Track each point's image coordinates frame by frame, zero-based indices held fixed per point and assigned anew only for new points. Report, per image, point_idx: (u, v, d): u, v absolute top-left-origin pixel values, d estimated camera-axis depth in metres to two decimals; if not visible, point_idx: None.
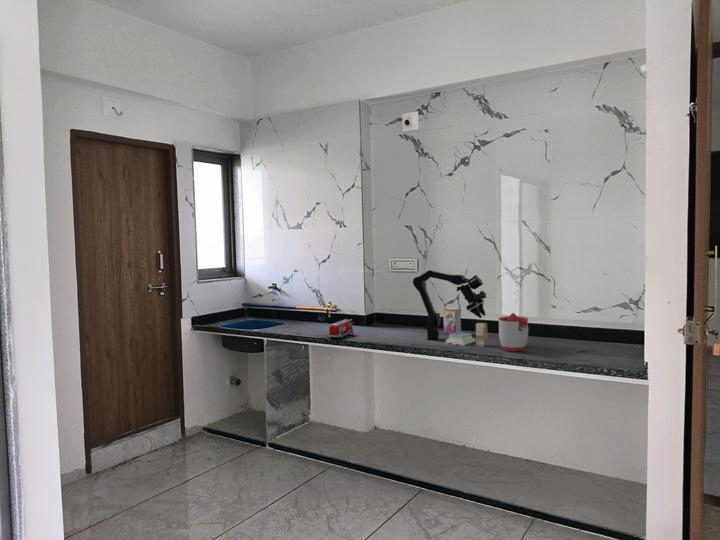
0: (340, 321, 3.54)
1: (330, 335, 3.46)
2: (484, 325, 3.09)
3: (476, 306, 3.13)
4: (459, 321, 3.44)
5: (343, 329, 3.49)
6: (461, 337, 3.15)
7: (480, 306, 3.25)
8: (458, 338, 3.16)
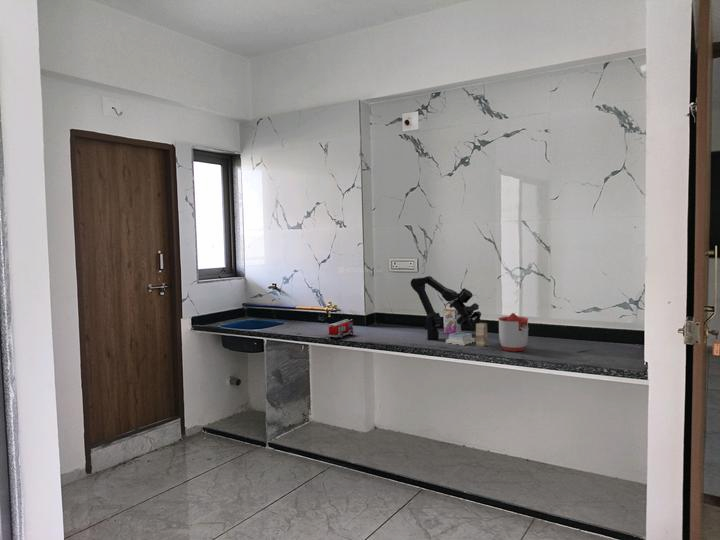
0: (340, 321, 3.54)
1: (329, 335, 3.46)
2: (484, 325, 3.09)
3: (465, 319, 3.08)
4: None
5: (343, 329, 3.49)
6: (461, 337, 3.15)
7: (477, 319, 3.18)
8: (458, 338, 3.16)
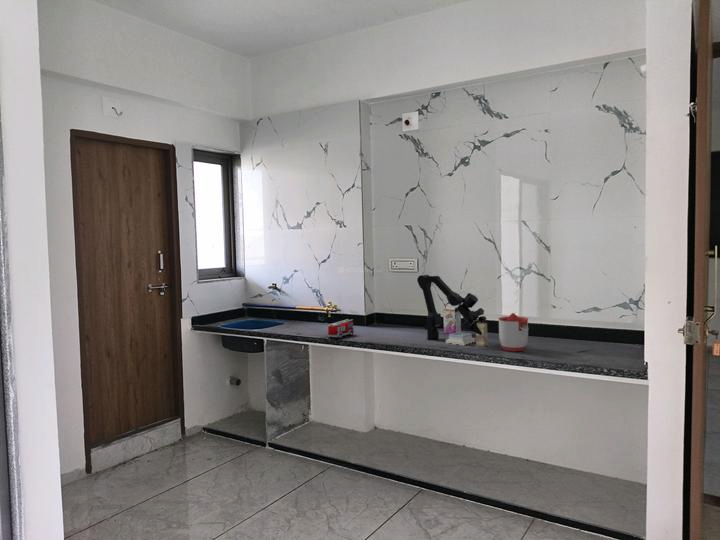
0: (340, 321, 3.54)
1: (329, 335, 3.47)
2: (484, 325, 3.09)
3: (473, 323, 3.08)
4: (459, 321, 3.44)
5: (342, 329, 3.49)
6: (461, 337, 3.15)
7: None
8: (458, 338, 3.16)
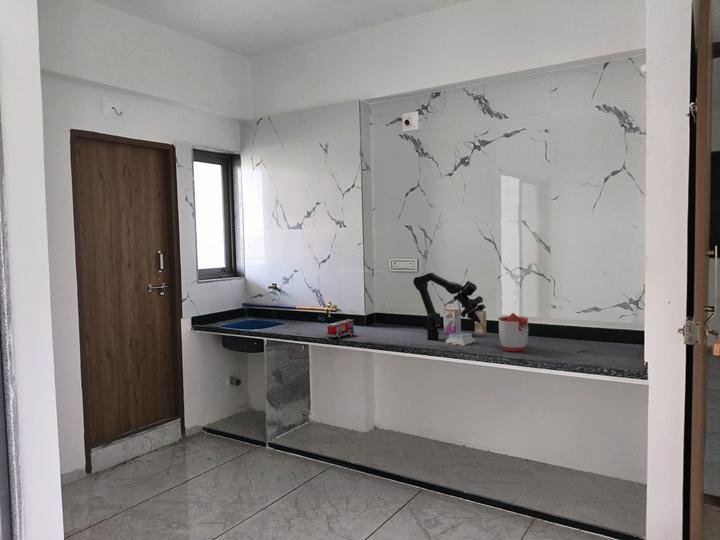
0: (340, 321, 3.54)
1: (328, 335, 3.48)
2: (483, 313, 3.09)
3: (472, 311, 3.08)
4: (459, 321, 3.44)
5: (341, 329, 3.49)
6: (461, 337, 3.15)
7: None
8: (458, 338, 3.16)
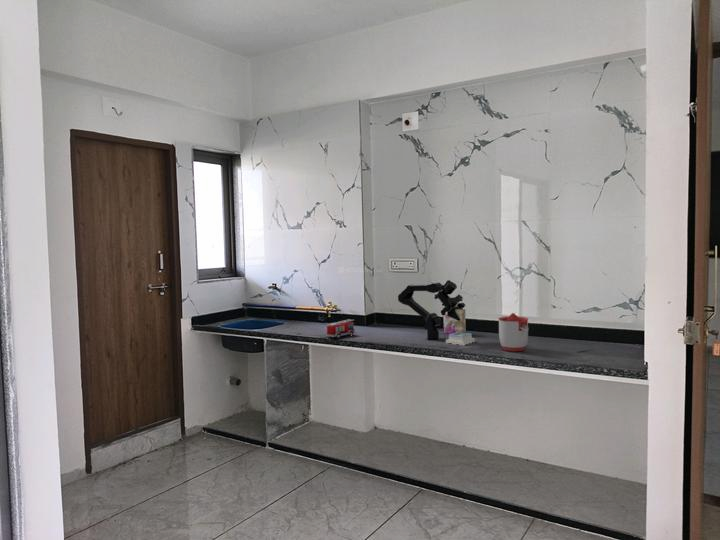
0: (341, 321, 3.54)
1: (327, 334, 3.48)
2: (462, 311, 3.18)
3: (451, 309, 3.17)
4: None
5: (341, 329, 3.49)
6: (461, 337, 3.15)
7: None
8: (458, 338, 3.16)
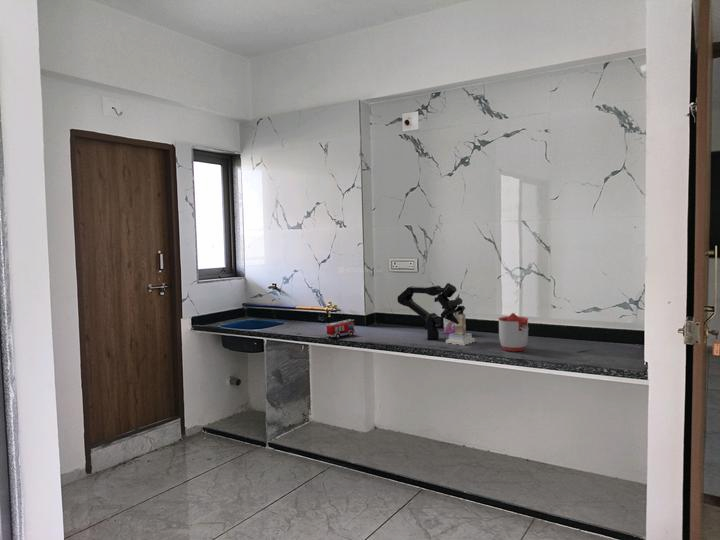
0: (341, 321, 3.54)
1: (327, 334, 3.49)
2: (462, 316, 3.18)
3: (450, 313, 3.16)
4: None
5: (341, 329, 3.49)
6: (461, 337, 3.15)
7: (460, 313, 3.25)
8: (458, 338, 3.16)
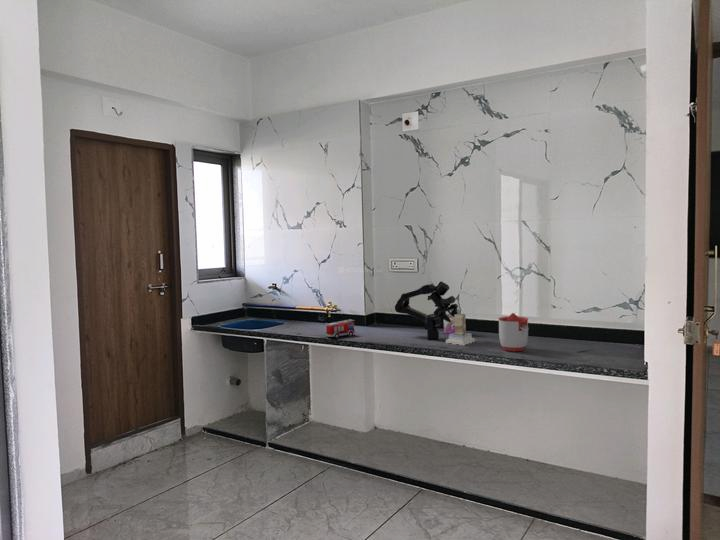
0: (341, 321, 3.54)
1: (326, 334, 3.50)
2: (462, 316, 3.18)
3: (442, 311, 3.19)
4: None
5: (340, 329, 3.49)
6: (461, 337, 3.15)
7: (453, 311, 3.29)
8: (458, 338, 3.16)
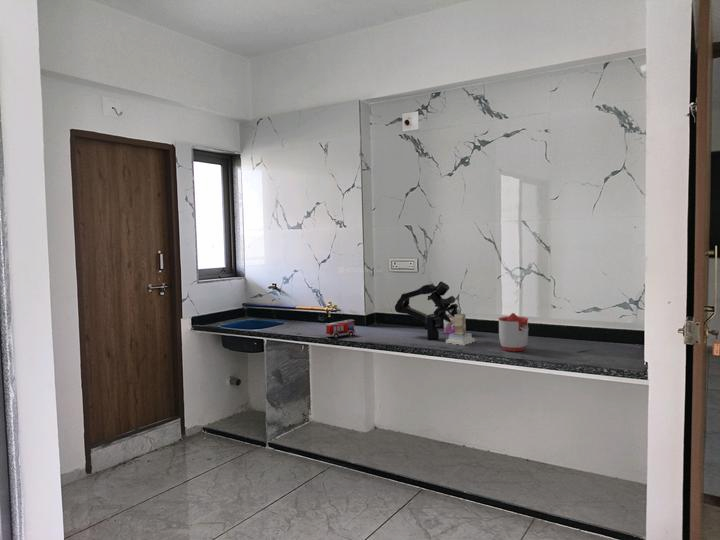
0: (341, 321, 3.54)
1: (326, 334, 3.51)
2: (462, 316, 3.18)
3: (442, 311, 3.19)
4: None
5: (339, 329, 3.49)
6: (461, 337, 3.15)
7: (453, 311, 3.29)
8: (458, 338, 3.16)
